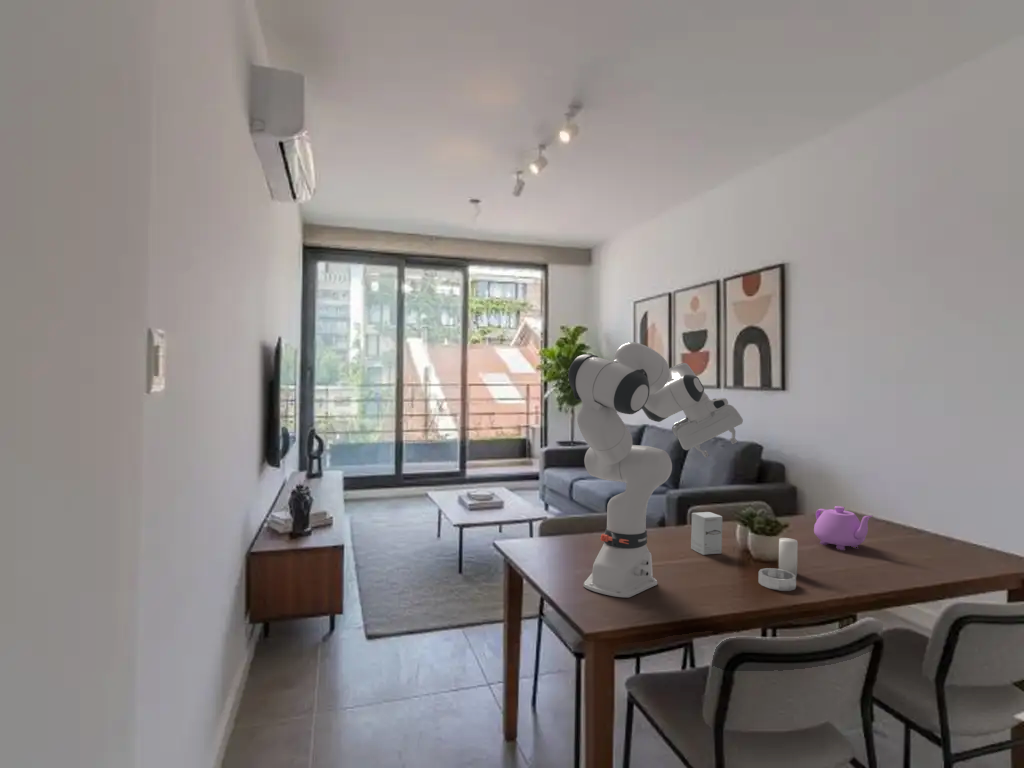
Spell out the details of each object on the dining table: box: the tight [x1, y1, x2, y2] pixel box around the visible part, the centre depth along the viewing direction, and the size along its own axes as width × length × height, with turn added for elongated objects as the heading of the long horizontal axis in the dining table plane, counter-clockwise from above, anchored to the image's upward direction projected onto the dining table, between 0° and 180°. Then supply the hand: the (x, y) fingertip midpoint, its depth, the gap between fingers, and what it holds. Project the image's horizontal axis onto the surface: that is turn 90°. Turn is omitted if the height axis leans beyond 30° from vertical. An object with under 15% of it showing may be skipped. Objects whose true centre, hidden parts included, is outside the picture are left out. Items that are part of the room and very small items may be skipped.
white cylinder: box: [778, 537, 799, 577], centre depth 166 cm, size 5×5×10 cm
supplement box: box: [690, 511, 723, 556], centre depth 186 cm, size 7×7×13 cm
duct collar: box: [758, 567, 797, 592], centre depth 156 cm, size 9×9×3 cm
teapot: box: [813, 505, 873, 551], centre depth 194 cm, size 22×16×14 cm
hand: (720, 449), depth 173 cm, fingers open, 8 cm apart
